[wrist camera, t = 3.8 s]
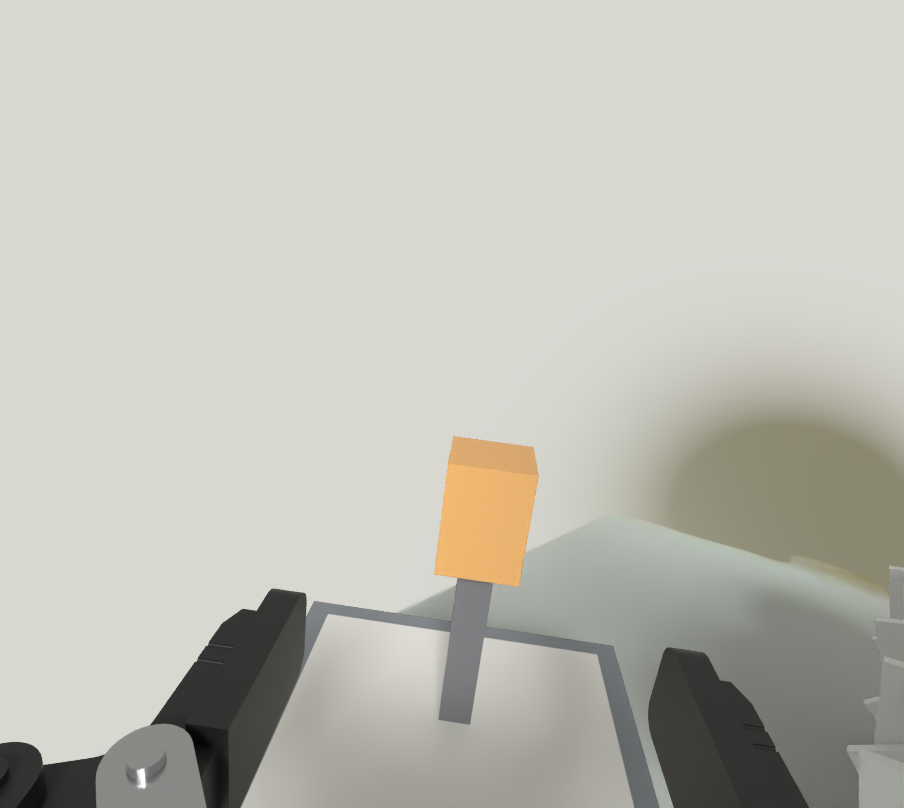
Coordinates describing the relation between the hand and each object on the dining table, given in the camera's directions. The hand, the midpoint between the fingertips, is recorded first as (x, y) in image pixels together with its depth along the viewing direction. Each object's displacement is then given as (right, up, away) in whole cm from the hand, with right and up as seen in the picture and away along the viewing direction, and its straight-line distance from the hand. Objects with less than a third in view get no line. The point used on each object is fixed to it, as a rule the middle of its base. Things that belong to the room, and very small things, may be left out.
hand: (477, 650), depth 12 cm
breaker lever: (0, -7, +9) cm, 11 cm away
